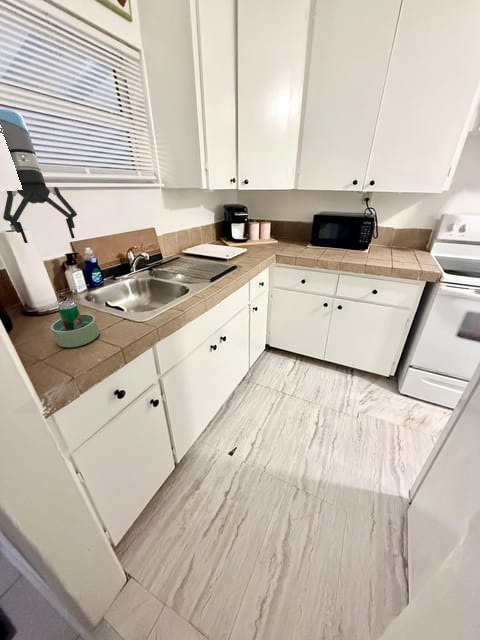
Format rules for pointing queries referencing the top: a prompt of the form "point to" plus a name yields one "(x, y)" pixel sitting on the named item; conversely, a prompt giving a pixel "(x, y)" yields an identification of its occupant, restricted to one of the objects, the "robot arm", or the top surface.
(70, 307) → the soda can
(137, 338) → the top surface
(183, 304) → the top surface
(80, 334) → the bowl
